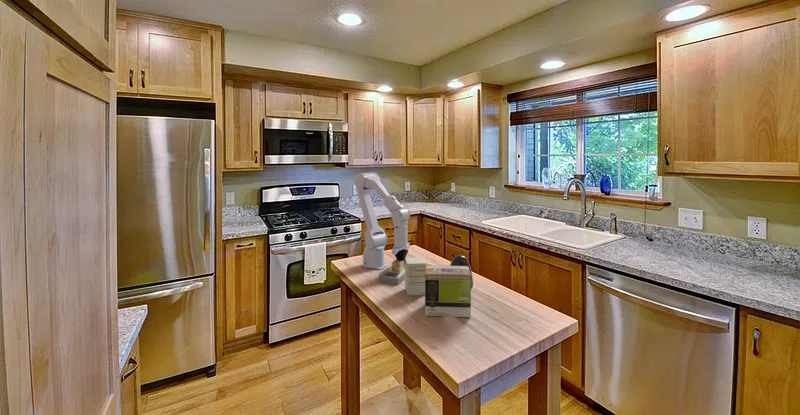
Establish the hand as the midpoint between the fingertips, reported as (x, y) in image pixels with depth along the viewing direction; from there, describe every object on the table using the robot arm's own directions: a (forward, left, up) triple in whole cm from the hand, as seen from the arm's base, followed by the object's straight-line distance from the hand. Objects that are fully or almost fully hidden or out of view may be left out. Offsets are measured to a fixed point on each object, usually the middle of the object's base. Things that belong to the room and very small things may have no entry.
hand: (400, 266), depth 160 cm
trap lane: (0, -1, -3) cm, 4 cm away
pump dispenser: (+29, -12, -4) cm, 32 cm away
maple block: (0, -3, -1) cm, 4 cm away
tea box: (+29, -28, -4) cm, 41 cm away
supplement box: (+13, -17, -4) cm, 22 cm away
